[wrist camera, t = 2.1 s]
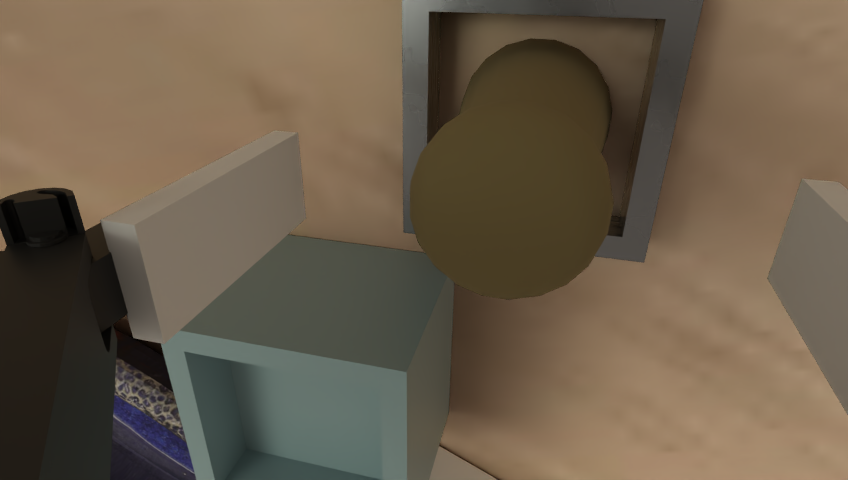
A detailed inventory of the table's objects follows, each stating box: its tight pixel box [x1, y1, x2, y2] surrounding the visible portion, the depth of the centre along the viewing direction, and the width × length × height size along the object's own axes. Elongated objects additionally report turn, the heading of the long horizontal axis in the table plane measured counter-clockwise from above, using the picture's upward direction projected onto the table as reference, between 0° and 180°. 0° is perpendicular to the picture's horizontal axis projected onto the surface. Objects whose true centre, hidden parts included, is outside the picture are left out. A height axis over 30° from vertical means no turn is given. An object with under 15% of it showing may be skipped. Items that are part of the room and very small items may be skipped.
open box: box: [161, 235, 454, 480], centre depth 26 cm, size 10×10×8 cm
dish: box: [110, 329, 196, 480], centre depth 36 cm, size 16×31×5 cm, turn 53°
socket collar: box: [402, 0, 703, 262], centre depth 21 cm, size 10×10×2 cm
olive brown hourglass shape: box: [410, 39, 614, 300], centre depth 17 cm, size 6×6×11 cm
